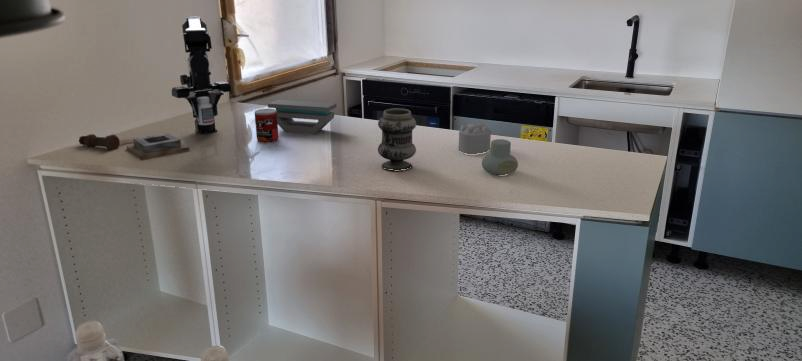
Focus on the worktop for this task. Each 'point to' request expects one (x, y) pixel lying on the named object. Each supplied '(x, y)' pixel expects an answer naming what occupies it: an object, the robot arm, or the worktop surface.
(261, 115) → the canned food
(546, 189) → the worktop surface
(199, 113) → the pill bottle
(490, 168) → the air freshener
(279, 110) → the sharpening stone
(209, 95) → the robot arm
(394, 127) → the apothecary jar
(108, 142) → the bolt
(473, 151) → the lumpy-topped squat cylinder
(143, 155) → the collar board
